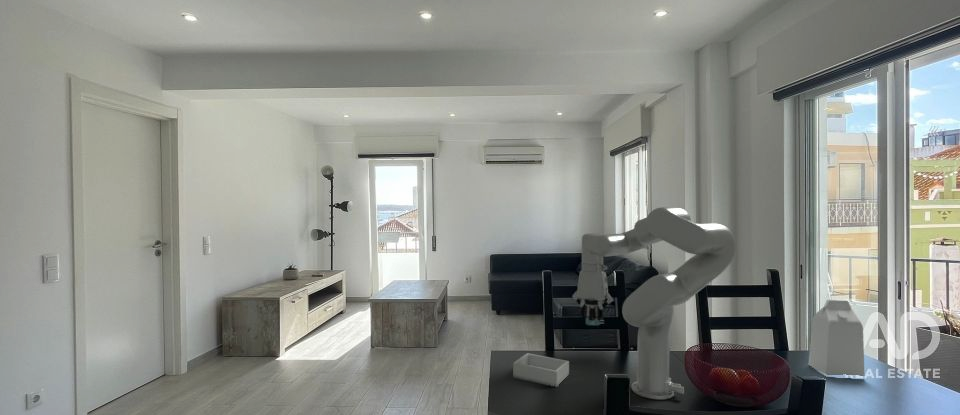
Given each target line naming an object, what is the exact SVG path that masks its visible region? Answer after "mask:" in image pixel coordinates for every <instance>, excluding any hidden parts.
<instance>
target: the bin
mask: <svg viewBox="0 0 960 415" xmlns="http://www.w3.org/2000/svg"><path fill="white" fill-rule="evenodd" d="M512 366H513V367H512V369H513V370H512V371H513V372H512V374H513V375H512V378H514V379H519V380H523V381H528V382H532V383H537V384H540V385H545V386H549V385H550V387H554V386H555V387H554V388H558V387H559V384H560V383H561V382H562V381H563V380H564V379H565V378H566V377H567V376H568V375H570V361H569V360H565V359H560V358H555V357H549V356H544V355H539V354H534V353H529V352H528V353H525V354H524V355H522V356H521V357H520V358H518V359H517V360H515V361H514V362H513V364H512ZM568 377H569V376H568ZM568 377H567V378H568ZM567 378H566V379H567ZM566 379H565V380H566ZM565 380H564V381H565ZM564 381H563V382H564ZM561 384H562V383H561ZM561 384H560V385H561Z"/></svg>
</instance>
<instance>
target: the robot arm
mask: <svg viewBox="0 0 960 415" xmlns="http://www.w3.org/2000/svg"><path fill="white" fill-rule="evenodd" d="M662 241H664V242H666V243H667V244H669V245H671V246H673V247H675V248H677V249H679V250H681V251H683V252H685V253H687V254H691V255H692V257H690V258H689V259H688V260H686V261H685V262H684V263H683V264H681V266H679V267H678V268H677V269H675V270H673V271H672V272H667V273H663V274H662V273H661V274H657V275H653V276H652V277H650V278H648V279H647V280H646V281H645V282H643V283H642V284H641V285H640V286H639V287H638V288H637V289H635V290H634V291H633V292H632V293H630V294H629V295H628V297H626V299H625V300H624V301H623V304H622V307H621V313H622V317H623V319H624V321H625V322H626V323H628V324H629V325H630V326H633V327H636V328H638V332H637V345H636V346H637V348H636V349H637V353H636V354H637V358H636V361H637V362H636V381H634V382H633V383H632V384H631V390H632V392H633V393H634V394H636V395H638V396H640V397H643V398H647V399H652V400H668V399H671V398H673V397H674V395H675V392H676V393H680V394H685V387H684V386H682V385H681V384H680V383H674V382H673V381H672V378H671V377H670V345H671V327H672V322H673V318H674V307H675V306H680V305H682V304H685V303H687V302H688V301H690V300H691V298H693V297H694V296H695V295H696V294H697V293H699V292H700V291H702V289H704V288H705V287H707V286H708V285H709V284H710V283H711V282H713V281H714V280H715V279H716V278H717V277H719V276H720V275H721V274H723V272H725V270H726V269H727V268H728V267H729V266H730V265H731V263H732V260H733V259H734V256H735V253H736V240H735V238H734V235H733V233H732V231H731V230H730V228H728V227H727V226H725V225H723V224H721V223H716V222H703V223H701V222H699V223H696V222H693V221H692V220H691V216H690V214H689V212H687V210H685V209H683V208H680V207H678V206H677V207H675V206H674V207H673V206H672V207H671V206H669V207H668V206H665V207H664V206H663V207H656V208H654V209H653V210H651V211H650V212H649V213H648V215H647V216H646V217H644V218H642V219H639V220H637V221H636V222H635V223H634V226H633V229H629V230H627V231H624V232H621V233H609V234H601V233H584V234H582V236H581V270H580V271H579V275H578V281H577V282H578V283H577V290H576V291H575V292H574V293H573V294H572V295H571V297H572V298H573V299H574V300H575V301H576V302H577V304H578V305H579V307H580V313H581V314H580V315H581V316H582V317H581V319H584V320H585V317H586V316H587V304H586V303H585V300H589V299H591V300H594V301H598V305H597V306H598V308H597V313H598V320H599V322H601V321H600V320H603V318H604V315H605V314H604V311H605V310H604V309H605V308H606V307H607V306H608V305H609V304H611V303H612V302H613V301H614V298H613V297H612V296H611V295H610V293H609V288H608V287H609V286H608V276H607V273H606V271H605V270H608V266H607V265H605V264H604V257H612V256H613V257H614V256H623V255H627V254H628V255H629V254H631V253H634V252H637V251H640V250H642V249H645V248H647V247H648V246H651V245H653V244H657V243H659V242H662ZM606 299H607V300H606ZM605 300H606V301H605Z"/></svg>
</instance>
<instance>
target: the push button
mask: <svg viewBox="0 0 960 415" xmlns="http://www.w3.org/2000/svg"><path fill="white" fill-rule="evenodd" d="M585 303H586V304H585V305H586V307H587V316H586V317H585V318H584V321H585V325H586V326H600V325H601V324H605V323H604V322H605V320H604V319H602V320H600V321H599V320H598V306H599V305H598V301H594V300H591V299H589V300H585Z"/></svg>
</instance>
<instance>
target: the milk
mask: <svg viewBox="0 0 960 415" xmlns="http://www.w3.org/2000/svg"><path fill="white" fill-rule="evenodd" d="M812 318H813V319H812V325H811V333H810V334H811V336H810V337H811V338H810V347H809V356H808V357H809V358H808V365H810V366H812V367H814V368H816V369H817V370H819V371H821V372H823V373H825V374H827V375H843V374H846V375H860V376H866V375H865V373H866V372H865V351H864V350H865V349H864V348H865V347H864V346H865V345H864V327H863V324H862V322H861V320H860V319H859V317H858V316H857V314H856V313H855V312H854V310H853V309H852V306H851V305H850V302H849V301H848V300H847V299H828V298H827V299H826V301H825V303H824V306H823V307H822V308H821V309H819V311H817V312H816V313H815V314H814V315H813V317H812Z"/></svg>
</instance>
